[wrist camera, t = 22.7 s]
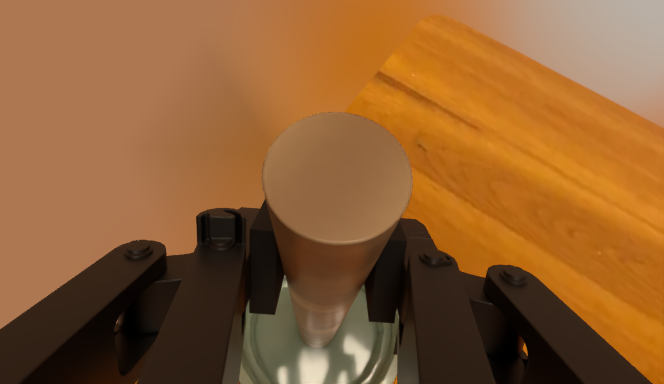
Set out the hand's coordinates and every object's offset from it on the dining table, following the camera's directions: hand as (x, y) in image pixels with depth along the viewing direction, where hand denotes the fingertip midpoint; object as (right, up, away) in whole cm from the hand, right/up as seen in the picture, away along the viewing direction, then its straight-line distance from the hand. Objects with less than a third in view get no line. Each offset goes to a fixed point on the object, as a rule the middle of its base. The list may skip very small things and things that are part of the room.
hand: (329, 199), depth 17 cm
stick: (-1, -10, +11) cm, 15 cm away
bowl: (-1, -10, +12) cm, 16 cm away
